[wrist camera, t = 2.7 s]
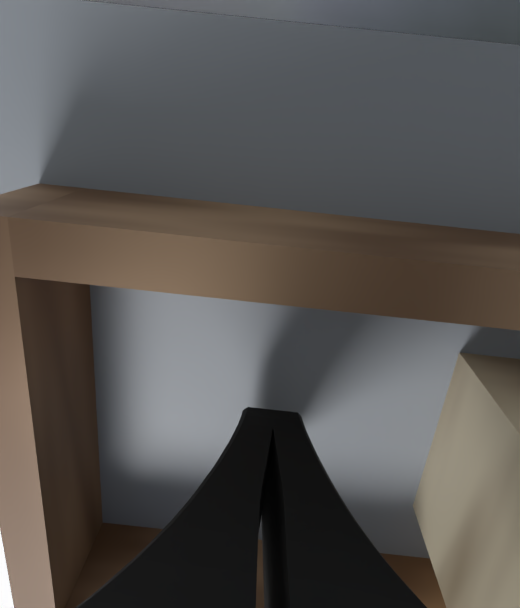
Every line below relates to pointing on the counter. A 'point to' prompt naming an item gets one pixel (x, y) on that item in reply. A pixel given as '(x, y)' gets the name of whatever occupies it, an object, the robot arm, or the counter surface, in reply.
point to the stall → (196, 282)
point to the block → (475, 486)
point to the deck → (273, 194)
